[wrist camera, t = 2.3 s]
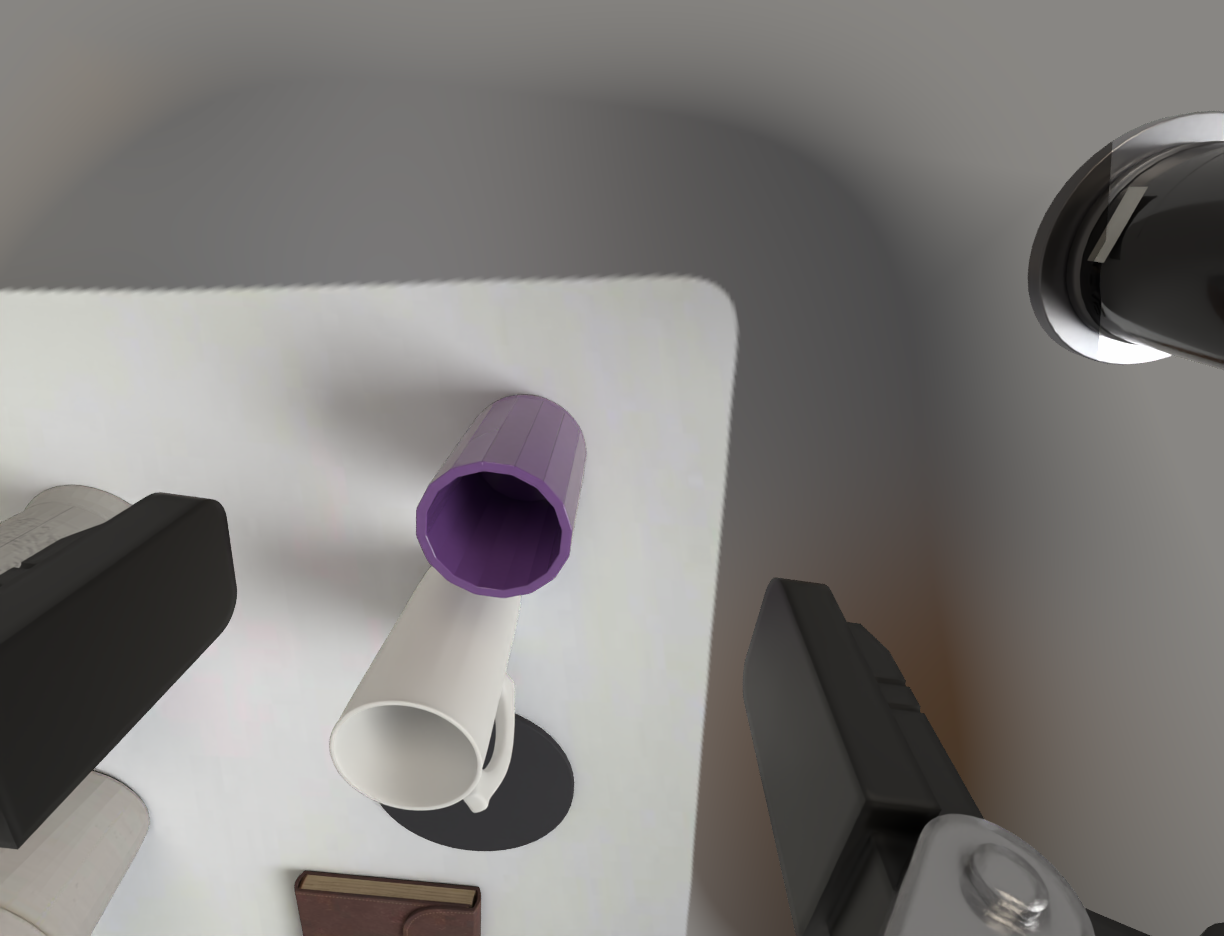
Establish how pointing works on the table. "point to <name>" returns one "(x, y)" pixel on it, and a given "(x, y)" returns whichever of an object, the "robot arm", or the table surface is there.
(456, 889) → the notebook
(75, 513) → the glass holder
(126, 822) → the potted plant
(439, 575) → the mug
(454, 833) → the mat
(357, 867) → the table surface
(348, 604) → the table surface
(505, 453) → the cup
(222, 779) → the table surface
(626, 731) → the table surface
